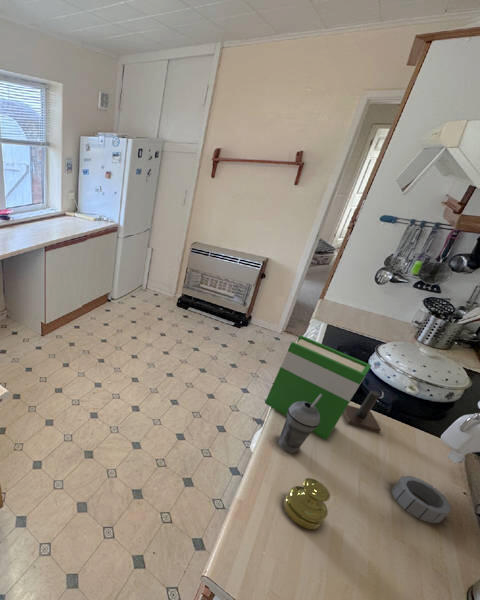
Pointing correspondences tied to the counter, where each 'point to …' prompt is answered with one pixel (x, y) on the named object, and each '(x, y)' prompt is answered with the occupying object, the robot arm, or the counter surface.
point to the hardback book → (317, 381)
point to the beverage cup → (299, 424)
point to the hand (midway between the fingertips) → (471, 458)
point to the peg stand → (363, 414)
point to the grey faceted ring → (416, 507)
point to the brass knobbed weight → (307, 503)
